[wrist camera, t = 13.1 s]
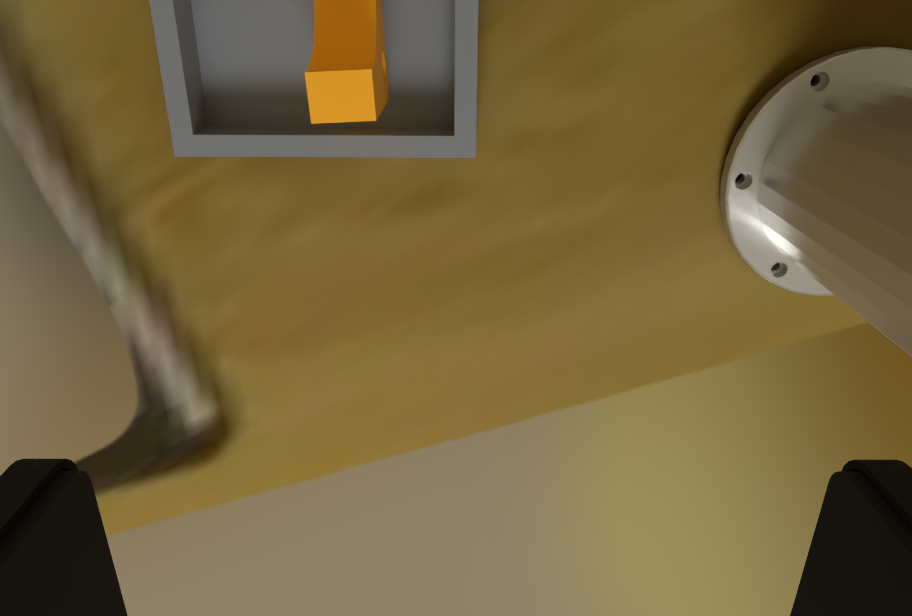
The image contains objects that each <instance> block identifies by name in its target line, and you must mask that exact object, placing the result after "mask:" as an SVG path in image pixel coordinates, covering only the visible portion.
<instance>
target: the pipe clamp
mask: <svg viewBox="0 0 912 616" xmlns="http://www.w3.org/2000/svg"><path fill="white" fill-rule="evenodd" d="M305 80H306V87H307V95H308V103H309V111H310V118H311V124H317V123H339V122H360V121H376V120H377V119H378V117H379V115H380V114H381V112H382V110H383V108H384V107H385V105H386V103H387V102H388V100H389V98H390V95H389V83H388V70H387V58H386V46H385V34H384V22H383V9H382V0H314V44H313V52H312V58H311V62H310V65H309V67H308V69H307V71H306V72H305Z"/></svg>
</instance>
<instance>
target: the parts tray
mask: <svg viewBox="0 0 912 616" xmlns="http://www.w3.org/2000/svg"><path fill="white" fill-rule="evenodd" d="M478 3H479V0H382V9H383V22H384V34H385V46H386V58H387V70H388V83H389V95H390V98H389V100H388V102H387V103H386V105H385V107H384V108H383V110H382V112H381V114H380V115H379V117H378V119H377V120H376V121H360V122H339V123H317V124H311V118H310V111H309V103H308V95H307V87H306V80H305V72H306V71H307V69H308V67H309V65H310V62H311V58H312V52H313V44H314V0H149V4H150V10H151V16H152V22H153V28H154V34H155V40H156V46H157V52H158V58H159V64H160V70H161V76H162V82H163V88H164V94H165V100H166V107H167V113H168V119H169V125H170V131H171V137H172V143H173V149H174V155H175V156H176V157H412V158H476V118H477V61H478Z"/></svg>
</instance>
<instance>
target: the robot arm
mask: <svg viewBox="0 0 912 616" xmlns="http://www.w3.org/2000/svg"><path fill="white" fill-rule="evenodd" d="M814 75H815V76H816V80H815V82H814V83H813V84H811V80H812V77H813V76H814ZM740 173H741V175H742V176H741V179H740V180H738V181H735V179H736V177H737V176H738V175H739V174H740ZM720 207H721V212H722V218H723V223H724V227H725V229H726V232H727V234H728V236H729V239H730V241H731V243H732V245H733V246H734V248H735V249H736V251H737V252H738V253H739V255H740V256H741V257H742V259H743V260H744V261H745V262H746V263H747V264H748V265H749V266H750V267H751V268H752V269H753V270H754V271H755V272H757V273H758V274H759V275H761V276H762V277H763V278H765V279H766V280H768V281H769V282H771V283H773V284H775V285H777V286H780V287H782V288H785V289H787V290H790V291H793V292H798V293H803V294H809V295H835V296H836V297H838V298H839V299H840V300H841V301H843V302H844V303H845V304H847V305H848V306H849V307H850V308H852V309H853V310H854V311H855V312H857V313H858V314H859V315H860V316H862V317H863V318H864V319H865V320H867V321H868V322H869V323H870V324H872V325H873V326H874V327H875V328H877V329H878V330H879V331H881V332H882V333H883V334H884V335H886V336H887V337H888V338H889V339H891V340H892V341H893V342H894V343H896V344H897V345H898V346H899V347H901V348H902V349H903V350H905V351H906V352H907V353H908V354H910V355H911V356H912V50H908V49H901V48H894V47H858V48H853V49H847V50H842V51H837V52H835V53H832V54H829V55H827V56H824V57H822V58H819V59H816V60H814V61H812V62H810V63H808V64H806V65H805V66H803V67H801V68H800V69H798V70H796V71H795V72H793V73H791V74H790V75H788V76H787V77H786V78H784V79H783V80H782V81H781V82H780V83H778V84H777V85H776V86H775V87H774V88H772V89H771V90H770V91H769V92H768V93H767V94H766V95H765V96H764V97H763V98H762V99H761V100H760V102H759V103H758V104H757V105H756V106H755V107H754V108H753V110H752V111H751V112H750V113H749V114H748V116H747V118H746V119H745V121H744V122H743V124H742V126H741V127H740V129H739V131H738V132H737V134H736V135H735V138H734V140H733V142H732V145H731V147H730V150H729V152H728V155H727V157H726V160H725V164H724V169H723V173H722V178H721V186H720ZM774 264H776V265H775V266H774V267H772V266H773V265H774ZM0 616H127V613H126V608H125V605H124V601H123V597H122V594H121V590H120V586H119V583H118V579H117V575H116V571H115V568H114V564H113V560H112V556H111V553H110V549H109V545H108V542H107V538H106V534H105V530H104V527H103V523H102V519H101V516H100V512H99V508H98V504H97V501H96V497H95V493H94V490H93V486H92V482H91V479H90V477H89V475H88V474H87V473H86V472H85V471H78V469H77V466H76V465H75V464H74V462H72V460H68V459H21V460H17V461H15V462H14V463H13V464H12V465H10V466H9V467H8V469H7V470H6V471H5V472H4V473H3V474H2V475H1V476H0ZM790 616H912V468H911V467H909V466H908V465H907V464H906V463H904V462H902V461H899V460H852V461H848V463H846V464H845V465H844V467H843V469H842V471H839V472H835V473H834V474H833V475H832V476H831V478H830V480H829V483H828V487H827V490H826V494H825V497H824V501H823V504H822V508H821V511H820V515H819V518H818V522H817V525H816V528H815V532H814V535H813V539H812V542H811V546H810V549H809V553H808V556H807V560H806V563H805V566H804V570H803V573H802V577H801V580H800V584H799V587H798V591H797V594H796V598H795V601H794V604H793V608H792V611H791V615H790Z"/></svg>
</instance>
